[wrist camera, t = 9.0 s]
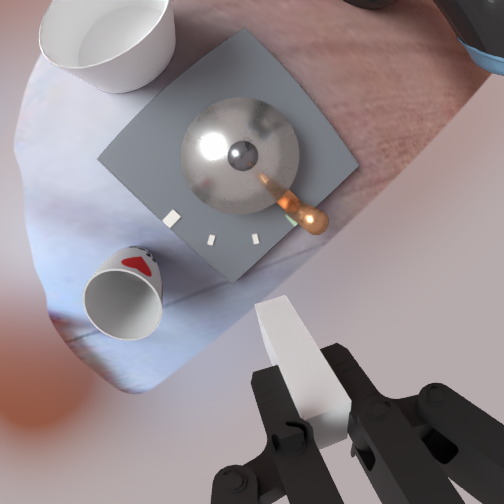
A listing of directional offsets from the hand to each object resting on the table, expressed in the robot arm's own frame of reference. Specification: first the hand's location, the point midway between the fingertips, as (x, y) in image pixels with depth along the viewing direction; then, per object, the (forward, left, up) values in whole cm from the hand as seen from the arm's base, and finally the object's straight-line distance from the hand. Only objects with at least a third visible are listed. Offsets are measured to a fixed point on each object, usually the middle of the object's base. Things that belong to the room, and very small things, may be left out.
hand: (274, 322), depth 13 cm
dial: (-6, -2, -20) cm, 21 cm away
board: (-6, -4, -22) cm, 23 cm away
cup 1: (-6, -23, -22) cm, 33 cm away
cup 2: (+12, -3, -22) cm, 26 cm away
